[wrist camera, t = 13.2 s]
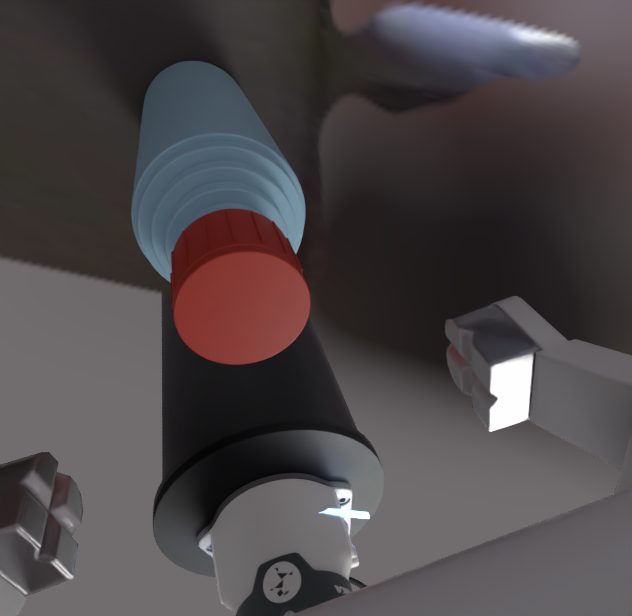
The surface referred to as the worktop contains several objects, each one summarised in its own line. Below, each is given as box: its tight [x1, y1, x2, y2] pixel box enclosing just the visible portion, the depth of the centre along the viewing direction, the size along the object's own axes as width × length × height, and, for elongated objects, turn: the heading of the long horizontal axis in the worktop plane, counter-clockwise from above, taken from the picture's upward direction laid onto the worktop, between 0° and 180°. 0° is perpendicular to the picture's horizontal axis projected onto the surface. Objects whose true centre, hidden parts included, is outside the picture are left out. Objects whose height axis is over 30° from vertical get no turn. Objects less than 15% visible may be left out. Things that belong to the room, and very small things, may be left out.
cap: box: [170, 208, 310, 365], centre depth 15 cm, size 4×4×3 cm
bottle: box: [131, 61, 305, 282], centre depth 23 cm, size 7×7×22 cm
